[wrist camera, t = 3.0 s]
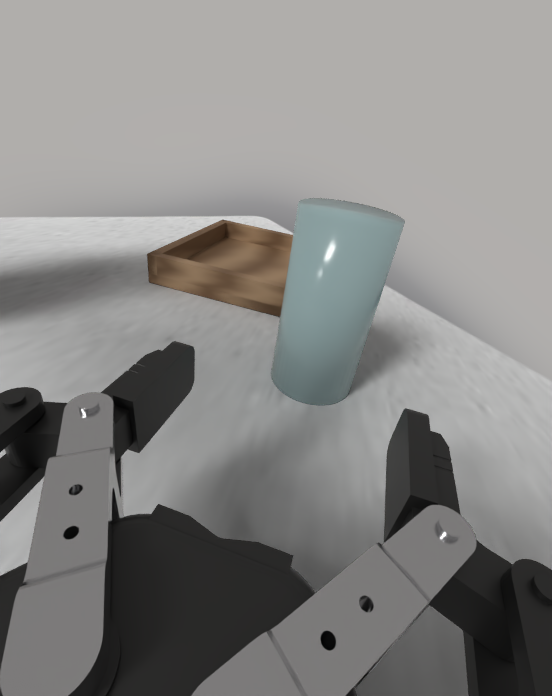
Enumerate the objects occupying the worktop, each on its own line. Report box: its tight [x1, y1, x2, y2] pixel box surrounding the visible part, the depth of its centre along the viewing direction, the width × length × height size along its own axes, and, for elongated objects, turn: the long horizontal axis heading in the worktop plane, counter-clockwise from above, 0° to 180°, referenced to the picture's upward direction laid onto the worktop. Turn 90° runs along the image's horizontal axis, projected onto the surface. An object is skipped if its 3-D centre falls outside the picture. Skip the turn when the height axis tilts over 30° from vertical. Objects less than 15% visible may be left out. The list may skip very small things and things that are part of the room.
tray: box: [147, 220, 293, 317], centre depth 41 cm, size 16×18×3 cm
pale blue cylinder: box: [271, 198, 405, 405], centre depth 23 cm, size 6×6×12 cm
